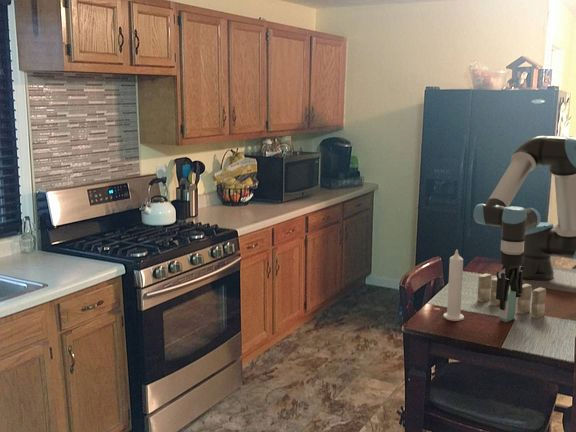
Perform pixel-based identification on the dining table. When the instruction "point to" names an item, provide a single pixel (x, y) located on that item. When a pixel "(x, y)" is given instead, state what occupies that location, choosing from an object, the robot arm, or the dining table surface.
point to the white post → (455, 288)
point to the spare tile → (510, 306)
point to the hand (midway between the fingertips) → (507, 316)
